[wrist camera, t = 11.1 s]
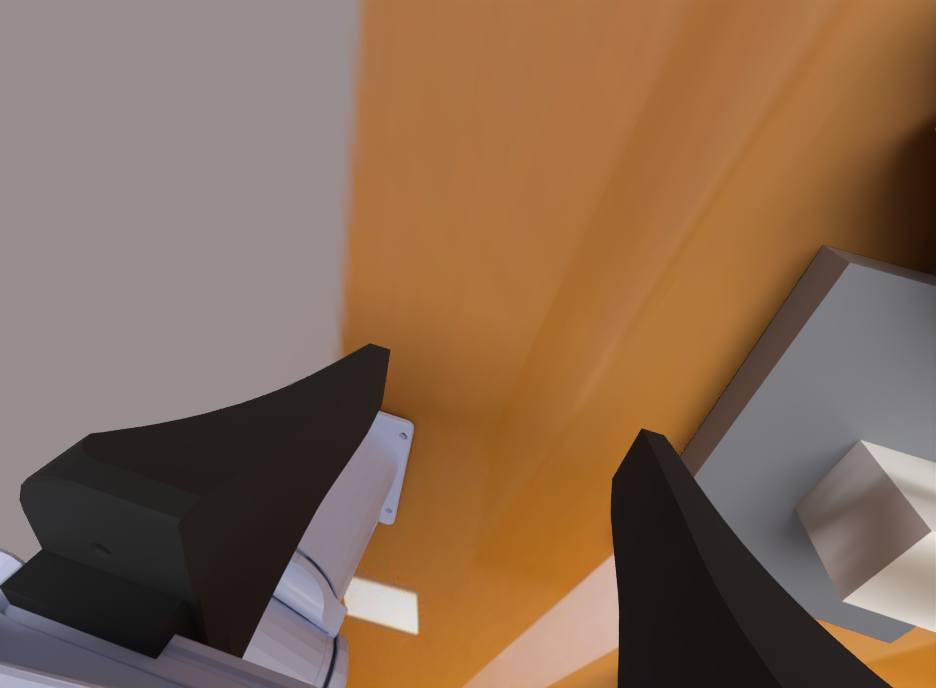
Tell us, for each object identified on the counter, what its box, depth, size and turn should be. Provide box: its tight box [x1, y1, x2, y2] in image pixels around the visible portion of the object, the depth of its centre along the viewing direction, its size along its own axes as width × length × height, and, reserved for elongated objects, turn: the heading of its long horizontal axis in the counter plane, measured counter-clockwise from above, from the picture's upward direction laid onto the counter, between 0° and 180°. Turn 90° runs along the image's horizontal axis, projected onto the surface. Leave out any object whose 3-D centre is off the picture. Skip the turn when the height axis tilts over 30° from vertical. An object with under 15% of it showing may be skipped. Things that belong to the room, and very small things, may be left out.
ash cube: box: [795, 440, 936, 632], centre depth 18 cm, size 4×4×4 cm
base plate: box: [680, 245, 936, 643], centre depth 21 cm, size 18×14×2 cm
